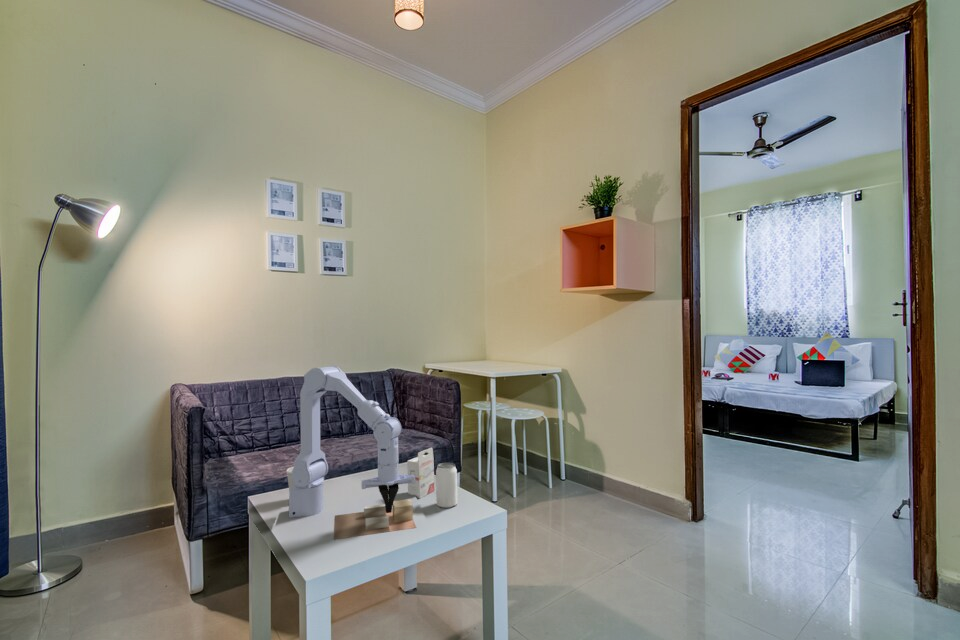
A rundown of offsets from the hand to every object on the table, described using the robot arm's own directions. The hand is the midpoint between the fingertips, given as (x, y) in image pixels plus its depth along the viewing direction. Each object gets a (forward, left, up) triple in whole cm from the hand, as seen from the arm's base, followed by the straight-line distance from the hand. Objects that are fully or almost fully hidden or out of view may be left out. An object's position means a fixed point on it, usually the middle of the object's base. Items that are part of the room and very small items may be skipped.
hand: (388, 511), depth 125 cm
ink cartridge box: (+13, +20, -3) cm, 24 cm away
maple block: (+4, 0, -2) cm, 4 cm away
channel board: (-4, 0, -3) cm, 5 cm away
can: (+19, +8, -3) cm, 21 cm away
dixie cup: (-25, +28, -3) cm, 38 cm away
